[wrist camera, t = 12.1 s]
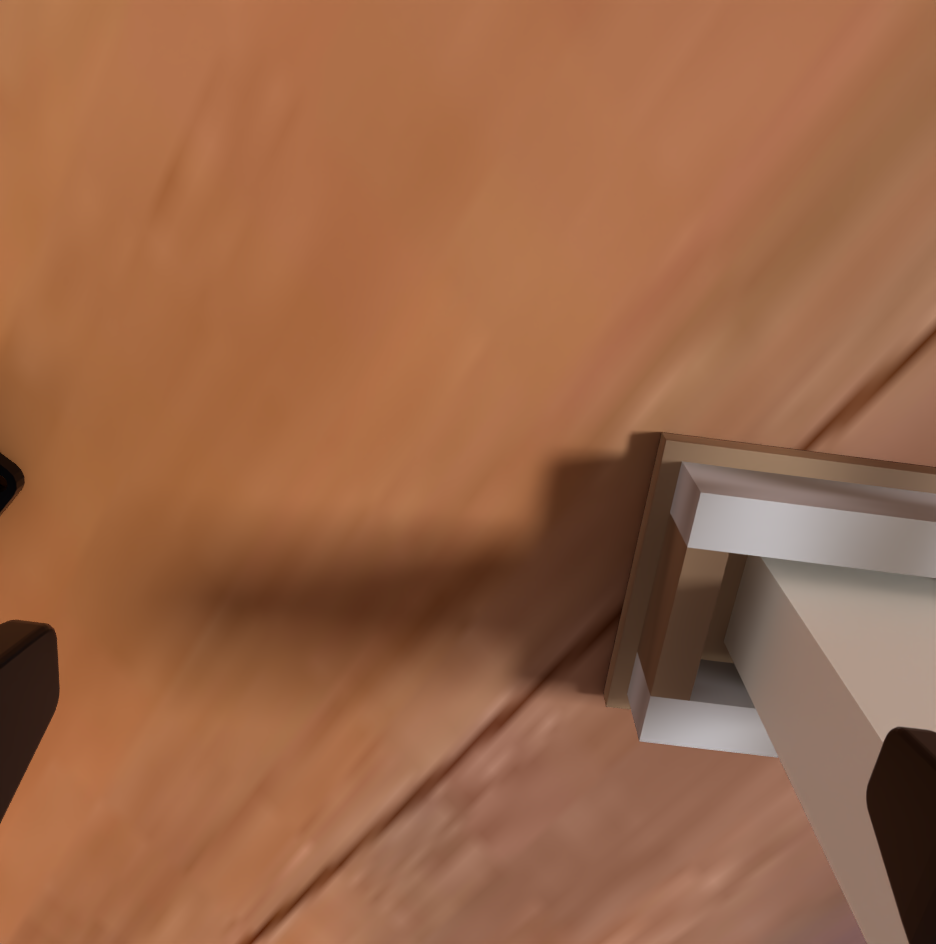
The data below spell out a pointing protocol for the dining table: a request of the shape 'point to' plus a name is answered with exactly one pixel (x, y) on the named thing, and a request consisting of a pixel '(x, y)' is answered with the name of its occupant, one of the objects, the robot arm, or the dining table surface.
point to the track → (722, 564)
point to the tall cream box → (838, 699)
